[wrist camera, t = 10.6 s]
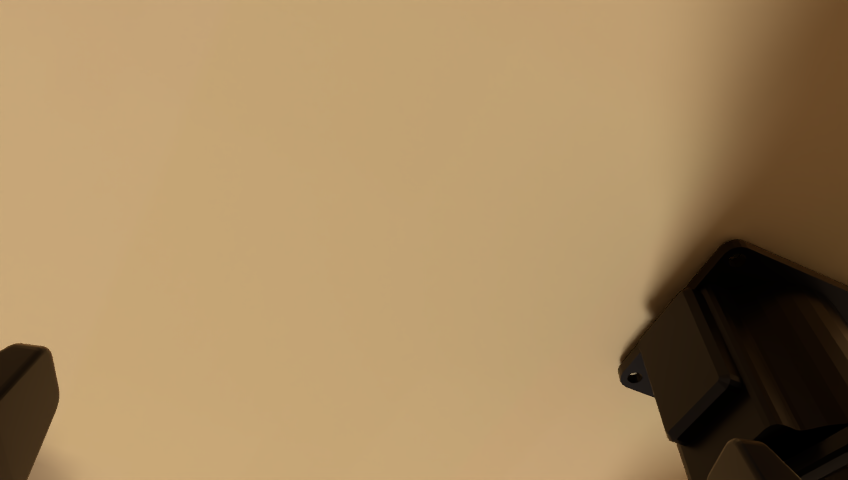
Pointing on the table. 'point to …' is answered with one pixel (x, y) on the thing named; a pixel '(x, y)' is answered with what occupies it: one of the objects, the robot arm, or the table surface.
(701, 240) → the table surface
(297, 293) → the table surface
